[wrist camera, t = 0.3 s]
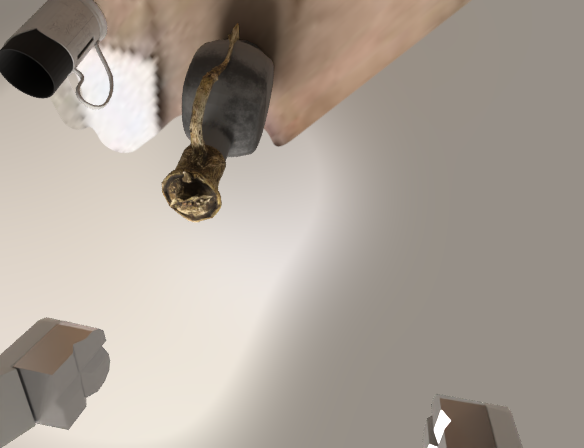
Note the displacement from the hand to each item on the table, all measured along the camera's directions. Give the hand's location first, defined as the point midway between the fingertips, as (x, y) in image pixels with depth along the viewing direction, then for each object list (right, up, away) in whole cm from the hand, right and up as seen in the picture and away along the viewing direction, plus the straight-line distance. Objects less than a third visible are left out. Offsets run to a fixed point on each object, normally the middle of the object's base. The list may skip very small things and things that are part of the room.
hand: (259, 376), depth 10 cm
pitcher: (-6, +30, +54) cm, 62 cm away
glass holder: (-30, +34, +55) cm, 72 cm away
